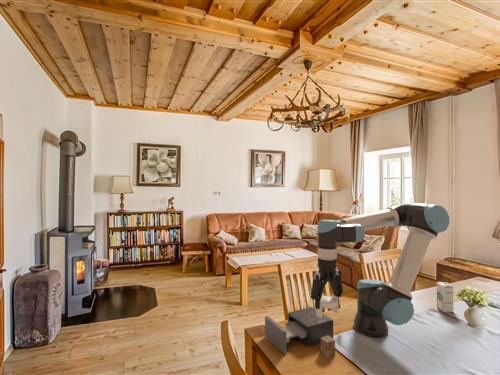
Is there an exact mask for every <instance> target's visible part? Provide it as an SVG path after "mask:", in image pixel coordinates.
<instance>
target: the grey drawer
mask: <svg viewBox="0 0 500 375" xmlns="http://www.w3.org/2000/svg"><path fill="white" fill-rule="evenodd" d="M296 336H299V337H300V338H305V337H307V329H306V328H304V327H303V326H301V325H300V324H299V323H297V322H296V321H295V320H293V321H290V322H288V321H287V322H285V327H282V326H281V325H280V324H279V323H277V322H276V321H275V320H273V319H272V318H271V317H270V316H268V315H267V316H264V337H265V338H267V340H268V341H269V342H270V343H271V344H272V345H273V346H275V347H276V348H277V349H278V350H279V351H280V352H281V353H282V354H286V353H287V348H288V347H287V343H290V339H292V338H297V337H296Z"/></svg>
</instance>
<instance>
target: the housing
mask: <svg viewBox="0 0 500 375" xmlns="http://www.w3.org/2000/svg"><path fill="white" fill-rule="evenodd" d="M293 320H295V321H296V322H297V323H299V324H300V325H301V326H303V327H304V328H306V329H307V337H305V338H300V337H299V336H296V337H295V338H297V340H299V341H301V342H302V343H303V344H304V345H305V346H306V347H308V348H309V347H312V346H315V345H318V344H321V338H322V337H325V336H330V337H331V338H333V339H334V319H332V318H331V317H329V316H328V315H326V314H325V313H323V312H322V318H320V317H318V316H317V315H316V308H315V307H312V306H310V307H306V308H302V309H297V310H294V311H289V312H287V323H288V322H290V321H293Z"/></svg>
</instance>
